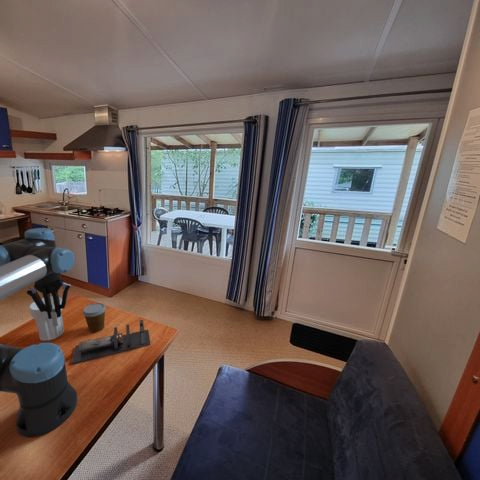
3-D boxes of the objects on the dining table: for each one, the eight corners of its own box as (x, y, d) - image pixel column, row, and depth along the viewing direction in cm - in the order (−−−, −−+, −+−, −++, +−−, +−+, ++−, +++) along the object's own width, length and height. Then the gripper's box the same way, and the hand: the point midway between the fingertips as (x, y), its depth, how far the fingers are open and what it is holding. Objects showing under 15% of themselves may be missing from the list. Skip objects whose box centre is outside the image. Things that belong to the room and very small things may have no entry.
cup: (29, 342, 99) (21, 309, 94) (50, 326, 110) (44, 295, 105) (54, 344, 100) (48, 311, 95) (73, 327, 110) (68, 297, 105)
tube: (79, 355, 94) (78, 346, 92) (81, 348, 97) (80, 339, 96) (122, 344, 101) (121, 336, 100) (122, 338, 105) (121, 330, 103)
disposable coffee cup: (81, 330, 109) (77, 309, 106) (100, 320, 117) (97, 300, 114) (93, 337, 105) (90, 316, 102) (112, 326, 114) (110, 306, 110)
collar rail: (150, 344, 104) (149, 329, 102) (71, 364, 90) (68, 348, 88) (148, 331, 113) (147, 317, 110) (75, 347, 99) (73, 332, 97)
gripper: (70, 264, 88) (78, 315, 94) (26, 268, 82) (38, 322, 89) (66, 272, 81) (74, 326, 88) (18, 277, 75) (31, 334, 82)
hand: (56, 324), depth 88 cm, fingers closed
